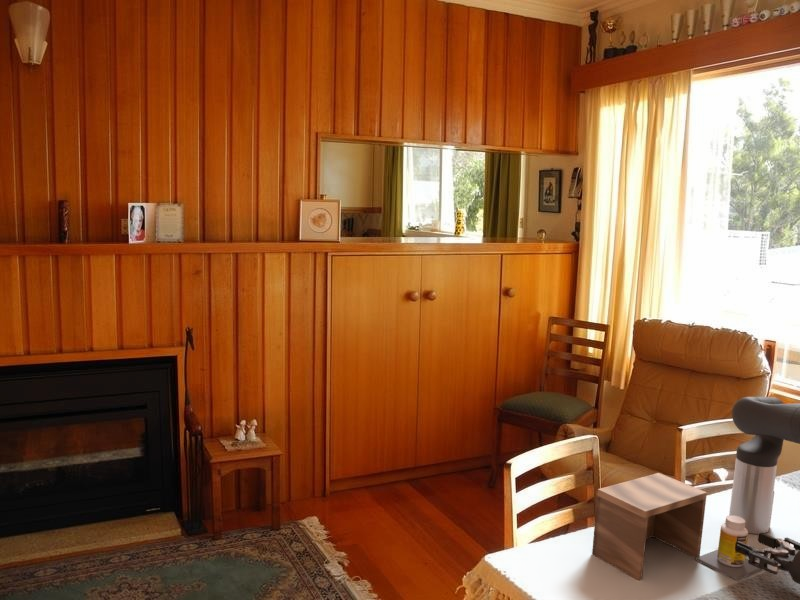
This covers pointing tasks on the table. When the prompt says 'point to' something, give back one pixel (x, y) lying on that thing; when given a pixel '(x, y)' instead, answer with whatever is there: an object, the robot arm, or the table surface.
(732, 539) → the supplement bottle
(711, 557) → the mat
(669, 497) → the cubby
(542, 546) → the table surface
